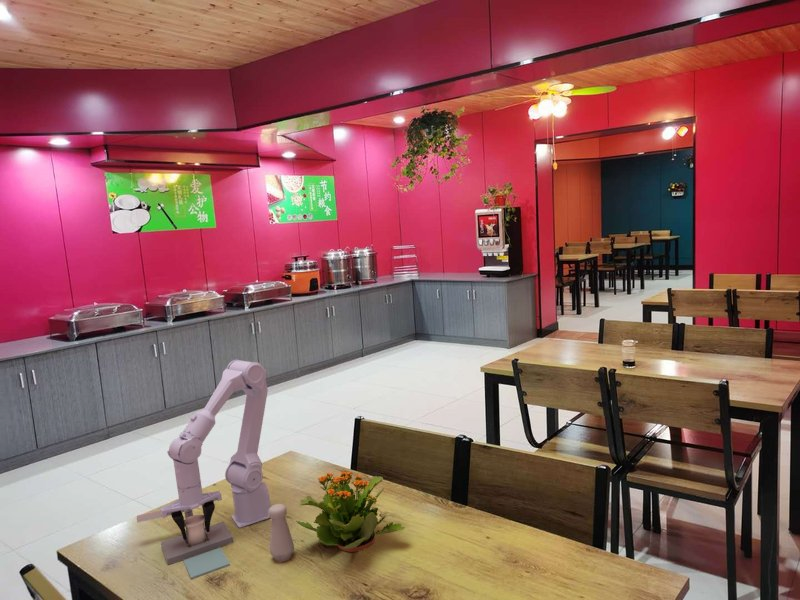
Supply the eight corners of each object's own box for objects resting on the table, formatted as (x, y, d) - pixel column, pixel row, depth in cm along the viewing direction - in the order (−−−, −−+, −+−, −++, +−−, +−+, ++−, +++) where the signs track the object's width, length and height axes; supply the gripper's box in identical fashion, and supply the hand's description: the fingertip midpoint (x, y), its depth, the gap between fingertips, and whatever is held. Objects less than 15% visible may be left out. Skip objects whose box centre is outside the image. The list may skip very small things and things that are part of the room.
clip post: (194, 529, 157) (191, 507, 156) (195, 532, 155) (192, 510, 154) (186, 531, 156) (183, 510, 155) (188, 535, 154) (185, 513, 153)
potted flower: (421, 526, 148) (416, 461, 146) (380, 580, 127) (372, 505, 125) (338, 513, 159) (331, 452, 156) (286, 561, 137) (278, 491, 135)
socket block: (223, 526, 157) (223, 521, 157) (233, 542, 148) (232, 536, 148) (161, 547, 149) (160, 542, 149) (167, 565, 140) (167, 559, 140)
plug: (205, 533, 152) (202, 512, 151) (209, 542, 148) (206, 520, 147) (184, 540, 149) (181, 519, 149) (188, 549, 145) (185, 527, 144)
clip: (192, 506, 156) (192, 502, 156) (192, 510, 154) (192, 506, 154) (138, 519, 152) (137, 515, 152) (137, 523, 149) (136, 519, 149)
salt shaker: (289, 564, 136) (283, 512, 134) (266, 563, 137) (260, 512, 136) (298, 550, 142) (292, 500, 140) (276, 550, 143) (270, 500, 141)
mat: (220, 548, 146) (220, 547, 146) (229, 565, 138) (229, 563, 138) (183, 561, 141) (183, 560, 141) (191, 579, 133) (190, 577, 133)
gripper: (161, 498, 139) (169, 550, 141) (221, 480, 147) (228, 530, 148) (156, 488, 145) (164, 538, 147) (215, 471, 153) (221, 520, 154)
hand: (196, 534), depth 148 cm, fingers closed on plug, 5 cm apart
